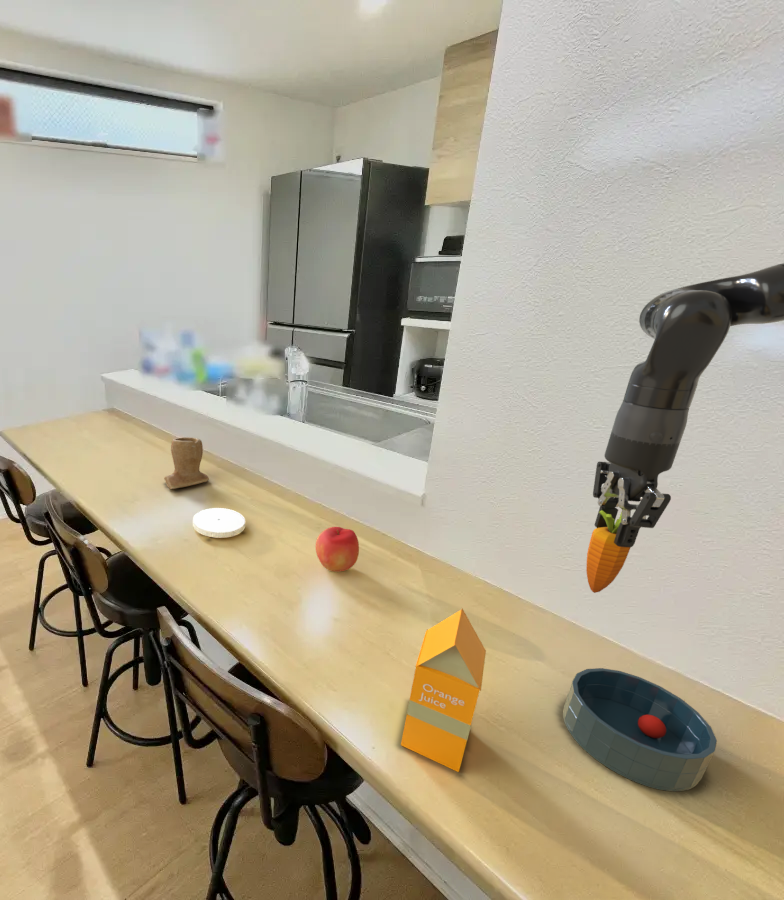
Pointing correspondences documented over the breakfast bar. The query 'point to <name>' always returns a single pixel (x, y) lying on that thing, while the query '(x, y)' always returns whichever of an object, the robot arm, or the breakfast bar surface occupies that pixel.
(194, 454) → the stone cup
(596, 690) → the bowl
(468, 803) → the breakfast bar surface
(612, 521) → the carrot
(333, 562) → the apple
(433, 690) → the orange juice
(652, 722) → the ball
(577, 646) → the breakfast bar surface
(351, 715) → the breakfast bar surface
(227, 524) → the plastic lid
